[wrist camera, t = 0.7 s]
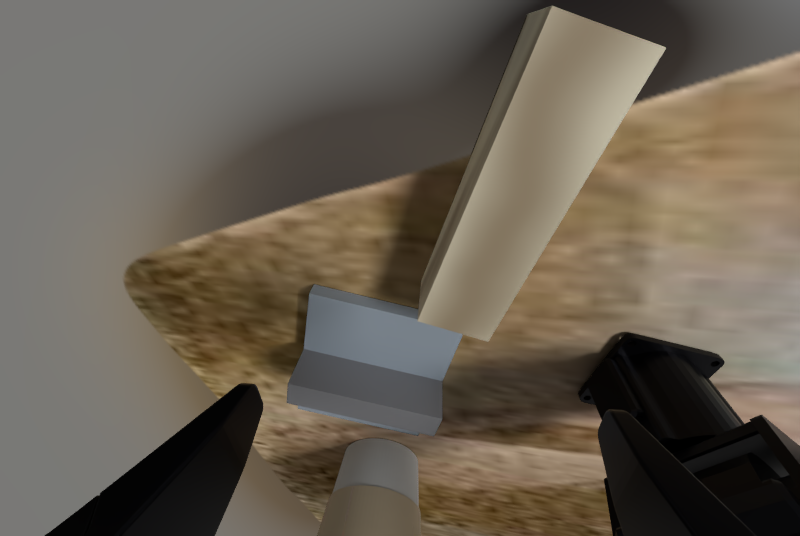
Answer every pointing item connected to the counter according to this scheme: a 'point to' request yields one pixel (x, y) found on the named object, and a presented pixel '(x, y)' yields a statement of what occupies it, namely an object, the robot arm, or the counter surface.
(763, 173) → the counter surface
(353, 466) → the coffee cup
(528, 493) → the counter surface
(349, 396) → the ridge stand
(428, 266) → the ash bar
